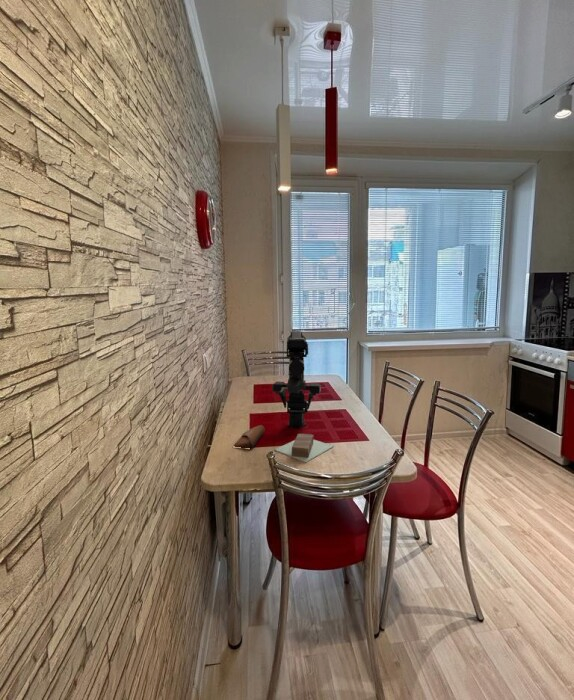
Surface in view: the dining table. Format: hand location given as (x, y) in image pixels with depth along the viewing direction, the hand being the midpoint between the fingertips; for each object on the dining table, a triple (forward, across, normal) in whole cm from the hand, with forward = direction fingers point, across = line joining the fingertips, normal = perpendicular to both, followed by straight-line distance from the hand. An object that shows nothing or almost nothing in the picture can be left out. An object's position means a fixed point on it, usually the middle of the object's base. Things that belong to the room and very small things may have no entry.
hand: (296, 408), depth 147 cm
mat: (+13, +4, -8) cm, 16 cm away
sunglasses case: (+14, -19, -4) cm, 23 cm away
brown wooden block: (+11, +4, -3) cm, 12 cm away
